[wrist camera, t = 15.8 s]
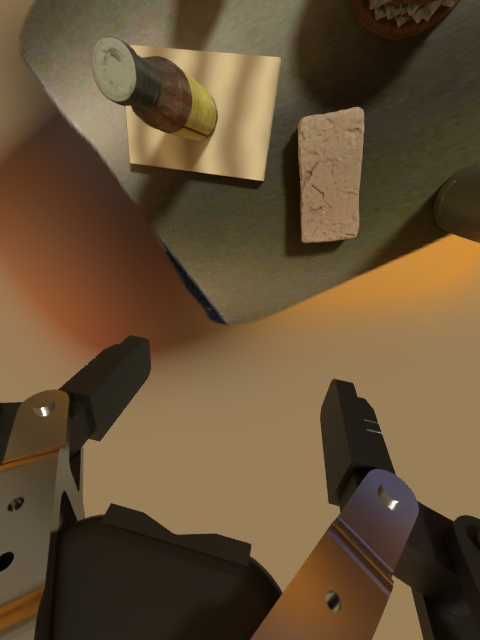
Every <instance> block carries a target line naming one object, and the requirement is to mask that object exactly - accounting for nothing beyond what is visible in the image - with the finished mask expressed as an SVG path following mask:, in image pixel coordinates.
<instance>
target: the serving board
mask: <svg viewBox="0 0 480 640" xmlns="http://www.w3.org/2000/svg"><path fill="white" fill-rule="evenodd" d="M130 46H131V47H132V48H133V49H134V50H135V52H136V54H137V55H139V56H140V57H142V58H143V57H151V56H160V57H164V58H166V59H168V60H170V61H172V62H173V63H175V64H176V65H177V66H178V67H180V68H181V69H182V70H183V71H184V72H186V73H187V74H188V75H189V76H190V77H192V78H193V79H194V80H195V81H196V82H198V83H199V84H200V85H201V86H202V87H204V88H205V89H206V90H207V91H208V92H209V94H210V95H211V96H212V98H213V99H214V101H215V104H216V107H217V111H218V121H217V125H216V128H215V130H214V132H213V134H212V135H211V136H210V137H208V138H206V139H204V140H200V141H193V140H189V139H185V138H182V137H179V136H176V135H172V134H168V133H165V132H162V131H160V130H158V129H155V128H152V127H150V126H148V125H147V124H146V123H144V122H143V121H142V120H141V119H140V118H139V117H138V116H137V115H136V114H135V113H134V112H133V111H132V107H131V106H126V116H127V129H128V142H129V155H130V163H134V164H142V165H149V166H156V167H164V168H171V169H179V170H186V171H193V172H201V173H208V174H215V175H223V176H230V177H238V178H245V179H252V180H260V181H264V176H265V169H266V162H267V155H268V148H269V141H270V134H271V127H272V120H273V113H274V106H275V99H276V92H277V85H278V78H279V71H280V64H281V60H280V57H268V56H256V55H243V54H231V53H219V52H207V51H195V50H183V49H171V48H159V47H147V46H135V45H130Z"/></svg>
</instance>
